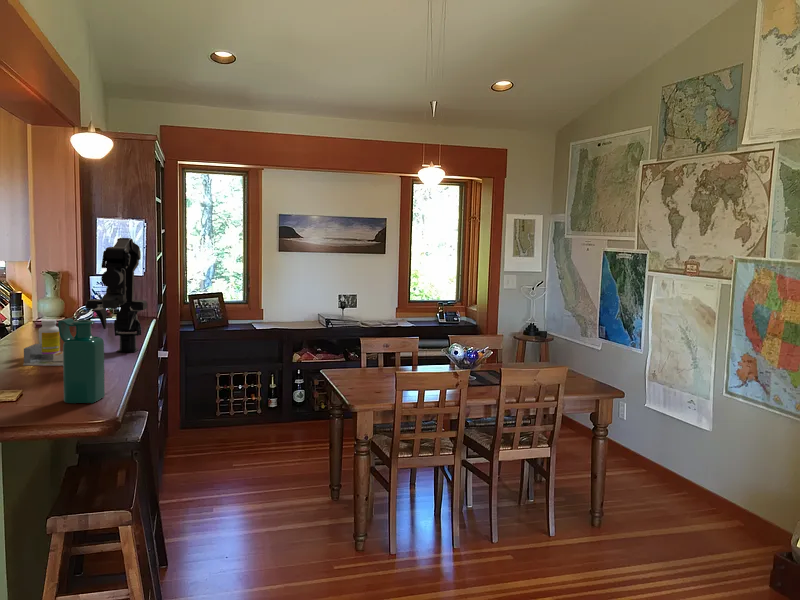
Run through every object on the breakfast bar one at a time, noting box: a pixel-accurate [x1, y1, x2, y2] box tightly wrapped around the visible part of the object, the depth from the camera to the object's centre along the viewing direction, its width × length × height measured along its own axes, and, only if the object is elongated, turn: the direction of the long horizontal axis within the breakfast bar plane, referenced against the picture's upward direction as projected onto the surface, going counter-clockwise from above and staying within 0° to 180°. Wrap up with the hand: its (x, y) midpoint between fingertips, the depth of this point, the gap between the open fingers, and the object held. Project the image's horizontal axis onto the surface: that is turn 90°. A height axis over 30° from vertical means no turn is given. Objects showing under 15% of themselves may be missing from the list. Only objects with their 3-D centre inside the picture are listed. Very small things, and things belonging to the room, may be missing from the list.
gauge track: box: [22, 343, 63, 367], centre depth 212 cm, size 10×14×6 cm
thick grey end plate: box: [53, 351, 63, 361], centre depth 212 cm, size 8×13×3 cm, turn 98°
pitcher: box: [57, 317, 106, 404], centre depth 168 cm, size 10×8×22 cm
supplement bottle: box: [38, 319, 61, 354], centre depth 223 cm, size 7×7×13 cm
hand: (117, 329), depth 214 cm, fingers open, 8 cm apart
